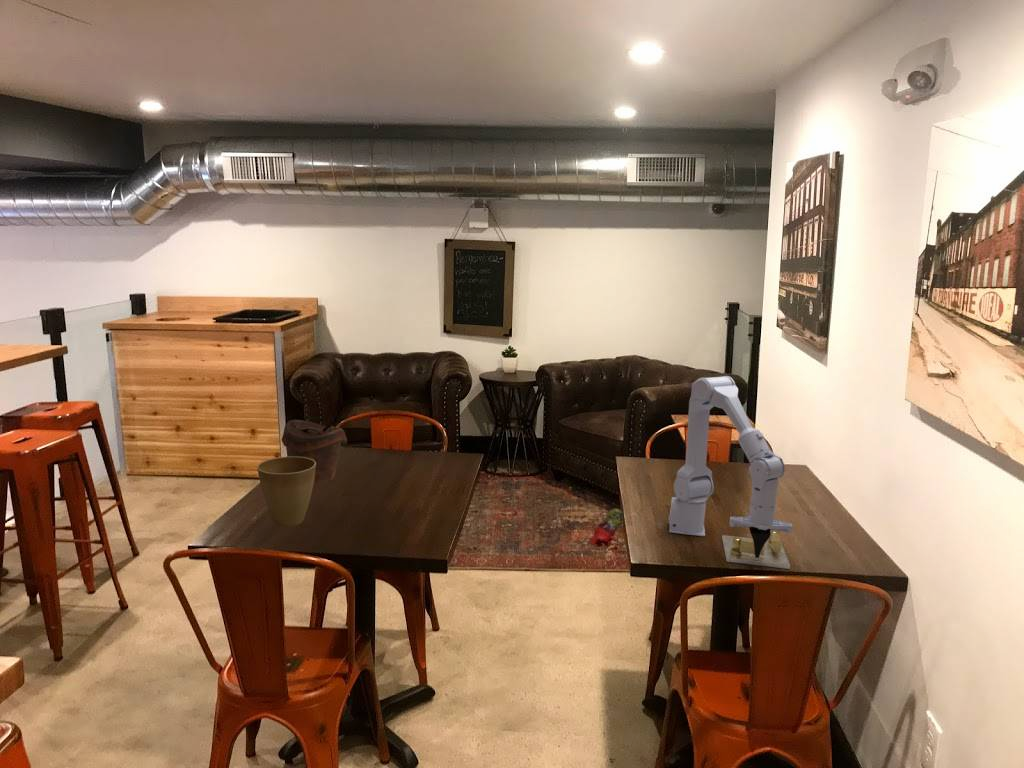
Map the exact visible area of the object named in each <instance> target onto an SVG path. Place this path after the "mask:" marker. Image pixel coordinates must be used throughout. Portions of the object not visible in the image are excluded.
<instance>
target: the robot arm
mask: <svg viewBox="0 0 1024 768" xmlns="http://www.w3.org/2000/svg"><path fill="white" fill-rule="evenodd" d="M690 393H691V394H690V398H689V400H688V414H687V416H688V419H687V433H686V434H687V435H686V448H685V449H686V451H685V464H684V465H683V466H682V467H680V469H679V470H677V472H676V478H675V480H674V483H673V492H674V495H675V496H676V497H674V496H672V497H671V498H670V499H671V502H670V510H669V511H670V512H669V516H668V520H667V521H668V524H669V525H668V527H669V529H668V530H669V531H668V532H669V533H673V534H681V535H688V536H698V537H705V536H706V530H705V515H706V507H707V506H706V505H707V504H706V503H707V501H709V497H710V496H711V495H712V494H713V493H714V488H715V486H714V481H713V472H712V470H710V468H708V466H707V457H708V456H707V455H708V442H709V426H710V411H711V410H712V409H713V408H714V407H716V408H718V409H722V410H723V411H724V412H725V414H726V415H727V417H728V418H729V420H730V421H731V424H733V426H734V428H735V430H736V431H737V432H738V434H739V435H738V439H737V441H738V443H739V445H740V447H741V449H742V450H743V453H744V454H745V456H746V458H747V460H748V462H749V463H750V465H749V466H748V471H749V474H750V477H751V486H752V489H751V499H750V505H749V506H750V507H749V508H750V509H749V515H748V516H730V517H729V527H731V528H732V527H733V528H734V527H740V528H747V529H749V533H750V535H751V538H753V542H754V549H755V557H756V558H759V555H760V553H761V550H762V548H763V546H764V544H765V543H766V541H767V540H769V538H770V535H771V533H770V531H771V530H774V531H778V532H783V533H784V532H785V533H787V534H790V535H791V534H792V533H793V524H792V523H790V522H785V521H780V520H775V511H776V506H777V505H776V503H777V495H778V488H779V486H778V485H779V479H780V478H782V477H783V476H784V474H785V471H786V466H785V462H784V461H783V459H782V457H781V456H779V455H777V454H776V453H775V452H773V451H772V450H771V449H770V447H769V445H768V443H767V442H766V439H765V438H764V437H765V436H764V435H763V433H762V432H761V431H760V430H759V429H758V428H754V427H753V426H752V424H751V422H750V420H749V418H748V415H747V414H746V412H745V409H744V407H743V404H741V401H740V398H739V388H738V387H737V385H736V382H735V381H734V379H733V378H732V377H731V376H729V375H723V376H715V377H714V376H713V377H700V378H697V379H696V380H695V381H693V382H692V384H691V392H690Z"/></svg>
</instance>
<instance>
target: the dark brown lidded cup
mask: <svg viewBox="0 0 1024 768" xmlns="http://www.w3.org/2000/svg"><path fill="white" fill-rule="evenodd" d="M281 443H282V445H283V446H284V447H285V449H286V453H287V457H306V458H310V459H312V460H314V461H315V462H316V469H315V477H314V483H313V484H317V483H325V482H329V481H331V480H333V479H334V478H335V476H336V471H337V465H338V461H339V456H340V451H341V446H342V444H343V445H344V446H345V445H346V444H347V443H348V439H347V436H346V432H345V430H344V429H343V428H341V427H335V426H333V425H331V424H329V425H323V424H321V423H316V422H313V421H306V420H303V419H291V420H288V421H287V422H286V424H285V425H284V429H283V433H282V436H281Z"/></svg>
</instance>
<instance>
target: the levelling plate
mask: <svg viewBox="0 0 1024 768" xmlns="http://www.w3.org/2000/svg"><path fill="white" fill-rule="evenodd" d="M734 537H736V536H733V535H727V534H726V535H725V534H724V535H722V537H721V538H722V544H723V549H724V550H723V551H724V555H725V561H726V562H727V563H735V564H743V565H744V564H745V565H753V566H761V567H767V568H778V569H785V570H790V567H791V564H790V561H789V558H788V556H787V554H786V551H785V548H784V546H783V543H781V551H780V553H777V552H773V549H772V547H769V546H768V545H767V544H768V541H769V539H768V540H767V541H766V543H765V547H764V555H763V556H762V555H759V558H756V557H755V554H750V553H744V552H742V555H740V556H736V555H732V554H731V553H730V551H731V548H732V544H733V538H734ZM738 537H739V538H742V539H749V540H753V538H752V537H751V538H750V537H744V536H743V537H742V536H738Z"/></svg>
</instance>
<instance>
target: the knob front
mask: <svg viewBox="0 0 1024 768" xmlns="http://www.w3.org/2000/svg"><path fill="white" fill-rule="evenodd" d="M739 537H740V536H735V537H734V538H733V544H732V548H731V551H730V553H731V554H732V555H736V556H740V555H742V552H744V553H750V554H755V549H754V542H753V540H749V539H742V538H739ZM764 547H765V544H764V546H763V548H762V550H761V553H760V555H762V556H763V555H764Z"/></svg>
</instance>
